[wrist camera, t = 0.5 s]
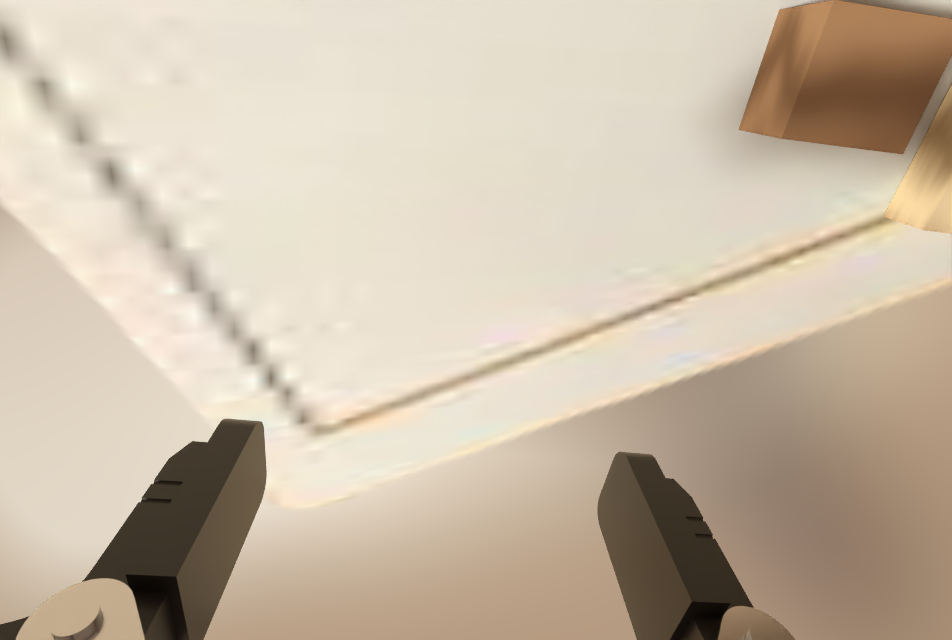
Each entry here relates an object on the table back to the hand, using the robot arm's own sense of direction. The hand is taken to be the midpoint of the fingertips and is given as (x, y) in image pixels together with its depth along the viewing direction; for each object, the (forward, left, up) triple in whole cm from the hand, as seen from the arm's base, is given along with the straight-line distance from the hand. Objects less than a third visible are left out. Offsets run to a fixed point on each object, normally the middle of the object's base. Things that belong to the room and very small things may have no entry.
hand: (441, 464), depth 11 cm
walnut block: (-11, +23, -26) cm, 37 cm away
